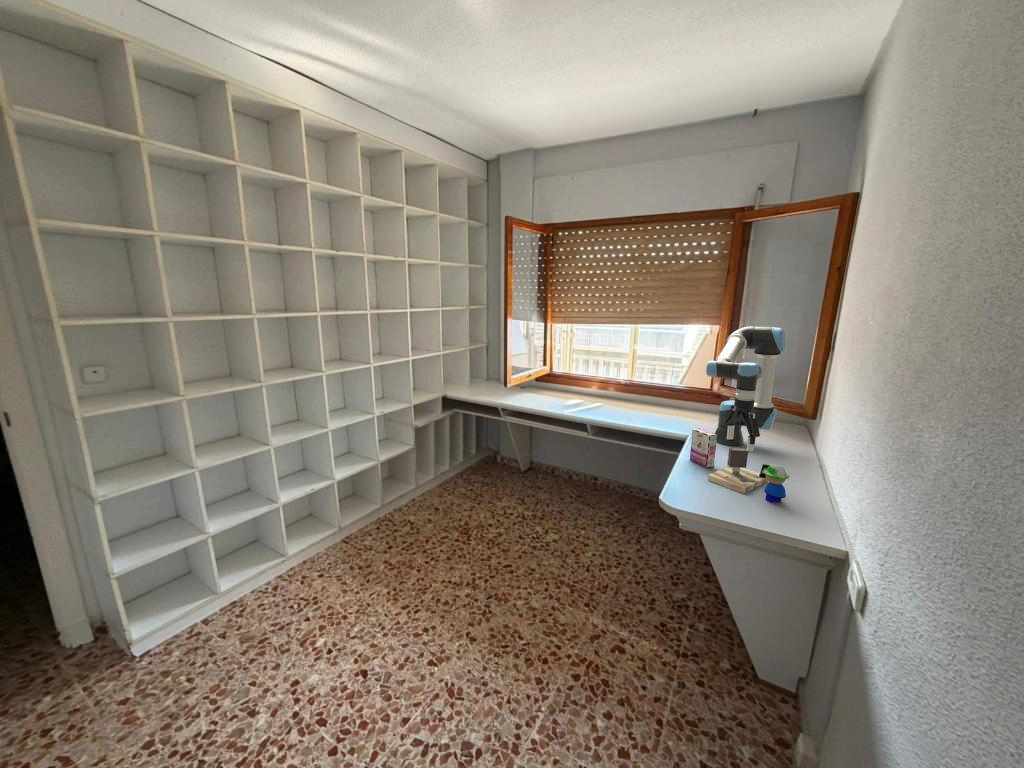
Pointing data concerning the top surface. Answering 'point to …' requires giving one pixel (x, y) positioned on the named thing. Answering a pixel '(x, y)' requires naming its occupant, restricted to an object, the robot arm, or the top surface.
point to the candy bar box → (703, 447)
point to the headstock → (737, 479)
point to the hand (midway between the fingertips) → (739, 444)
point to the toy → (774, 482)
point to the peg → (737, 460)
